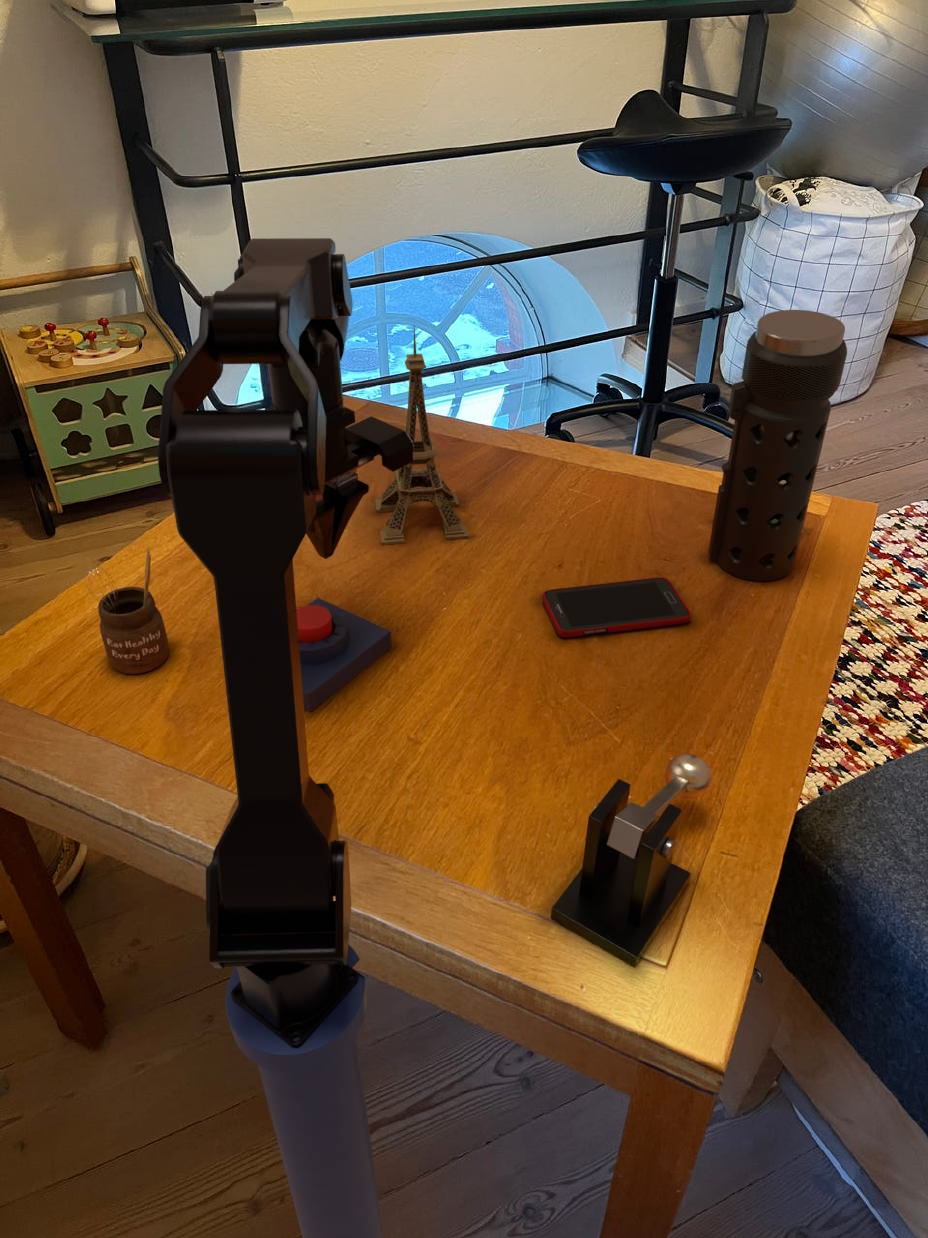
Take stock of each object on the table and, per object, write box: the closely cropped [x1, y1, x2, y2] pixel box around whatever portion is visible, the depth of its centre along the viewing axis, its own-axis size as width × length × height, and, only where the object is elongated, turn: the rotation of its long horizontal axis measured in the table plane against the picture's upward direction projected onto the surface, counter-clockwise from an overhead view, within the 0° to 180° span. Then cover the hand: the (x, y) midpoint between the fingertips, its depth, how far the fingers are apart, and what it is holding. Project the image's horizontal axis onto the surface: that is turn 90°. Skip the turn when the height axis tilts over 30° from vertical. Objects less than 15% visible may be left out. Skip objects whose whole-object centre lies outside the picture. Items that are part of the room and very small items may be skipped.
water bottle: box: [707, 309, 848, 582], centre depth 98 cm, size 10×28×10 cm
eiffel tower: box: [374, 326, 470, 546], centre depth 107 cm, size 11×11×25 cm
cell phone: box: [541, 577, 692, 638], centre depth 98 cm, size 8×15×1 cm, turn 101°
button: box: [296, 604, 332, 643], centre depth 89 cm, size 4×4×2 cm
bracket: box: [550, 778, 692, 968], centre depth 66 cm, size 9×7×10 cm
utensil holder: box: [84, 546, 170, 675], centre depth 89 cm, size 6×6×12 cm
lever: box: [607, 752, 713, 859], centre depth 69 cm, size 14×4×4 cm, turn 144°
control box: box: [299, 597, 392, 712], centre depth 91 cm, size 12×10×4 cm
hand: (325, 555), depth 84 cm, fingers closed
